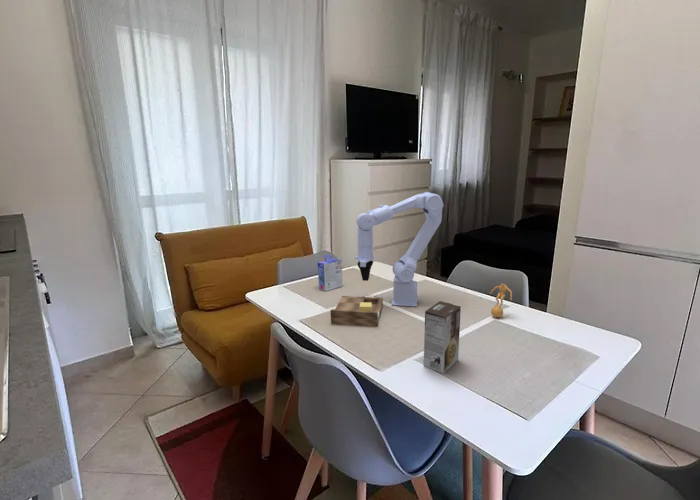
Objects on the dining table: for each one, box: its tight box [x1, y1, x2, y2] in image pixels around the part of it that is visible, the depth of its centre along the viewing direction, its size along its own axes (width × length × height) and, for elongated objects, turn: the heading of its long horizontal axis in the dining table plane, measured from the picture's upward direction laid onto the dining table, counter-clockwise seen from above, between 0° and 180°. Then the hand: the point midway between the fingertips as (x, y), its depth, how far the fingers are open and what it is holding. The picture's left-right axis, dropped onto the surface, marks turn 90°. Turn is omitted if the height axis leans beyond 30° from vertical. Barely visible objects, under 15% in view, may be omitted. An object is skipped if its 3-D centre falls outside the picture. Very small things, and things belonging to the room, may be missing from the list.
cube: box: [360, 302, 372, 311], centre depth 129 cm, size 4×4×4 cm
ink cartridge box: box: [317, 254, 343, 292], centre depth 164 cm, size 10×6×14 cm, turn 129°
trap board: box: [330, 295, 384, 328], centre depth 137 cm, size 16×21×5 cm
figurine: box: [489, 283, 513, 318], centre depth 131 cm, size 8×6×12 cm
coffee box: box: [423, 300, 462, 374], centre depth 101 cm, size 9×6×16 cm
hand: (365, 280), depth 143 cm, fingers closed
